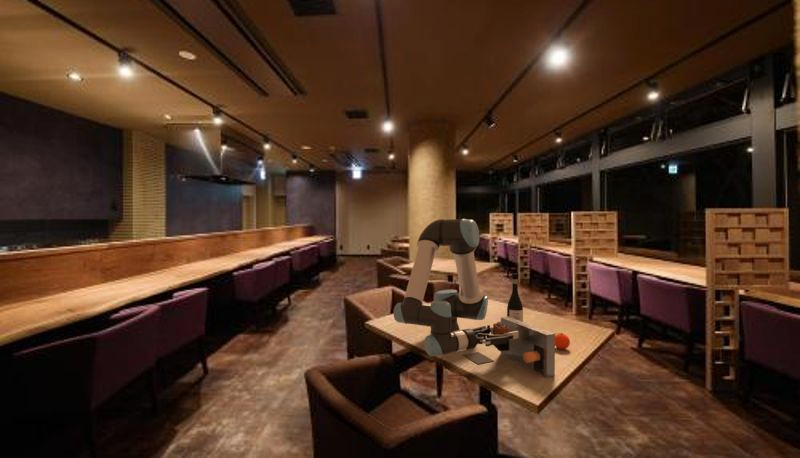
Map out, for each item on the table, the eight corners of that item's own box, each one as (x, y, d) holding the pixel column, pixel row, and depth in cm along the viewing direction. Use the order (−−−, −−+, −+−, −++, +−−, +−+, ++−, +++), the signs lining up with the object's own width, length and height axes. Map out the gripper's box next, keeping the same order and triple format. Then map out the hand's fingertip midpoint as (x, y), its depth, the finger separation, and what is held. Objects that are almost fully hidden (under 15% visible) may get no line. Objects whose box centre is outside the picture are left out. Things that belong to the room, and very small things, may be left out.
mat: (462, 355, 158) (462, 354, 158) (478, 352, 161) (478, 351, 161) (478, 364, 148) (478, 363, 148) (493, 361, 151) (493, 360, 151)
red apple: (548, 346, 168) (548, 331, 168) (559, 344, 170) (559, 329, 170) (561, 352, 160) (561, 336, 160) (573, 350, 163) (573, 334, 163)
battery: (503, 344, 150) (503, 320, 149) (509, 350, 143) (509, 325, 143) (492, 345, 149) (492, 321, 149) (499, 351, 143) (498, 326, 142)
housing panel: (500, 353, 159) (500, 317, 159) (508, 352, 161) (508, 316, 160) (546, 377, 135) (546, 335, 135) (554, 375, 137) (554, 333, 136)
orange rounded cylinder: (523, 360, 138) (523, 351, 138) (533, 358, 140) (533, 349, 140) (529, 364, 135) (530, 354, 135) (540, 362, 137) (540, 352, 137)
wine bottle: (524, 332, 189) (525, 274, 188) (509, 332, 189) (509, 274, 188) (520, 327, 197) (520, 272, 196) (505, 327, 197) (505, 272, 196)
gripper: (449, 341, 148) (494, 332, 157) (479, 359, 130) (528, 348, 139) (449, 323, 148) (494, 315, 157) (479, 338, 129) (528, 329, 138)
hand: (510, 331), depth 148 cm, fingers closed on battery, 7 cm apart
